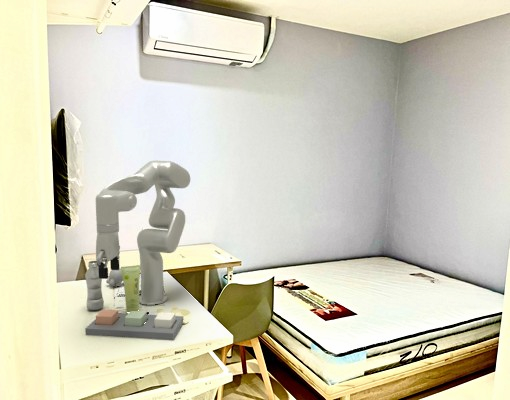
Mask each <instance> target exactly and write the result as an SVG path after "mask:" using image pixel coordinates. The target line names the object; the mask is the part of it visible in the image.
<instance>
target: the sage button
mask: <svg viewBox="0 0 510 400" xmlns="http://www.w3.org/2000/svg"><path fill="white" fill-rule="evenodd" d="M147 313H148V312H147V311H144V310H143V311H141V310H139V311H130V313H129V314H128V315H127V316H126V317H125V326H133V327H142V326H143V325H144V323H145V322H146V321H147V315H148V314H147Z"/></svg>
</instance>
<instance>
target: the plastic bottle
mask: <svg viewBox="0 0 510 400" xmlns="http://www.w3.org/2000/svg"><path fill="white" fill-rule="evenodd" d="M87 263H88V264H87V265H88V266H87V267H88V268H87V269H86V272H85V274H84V278H85V283H86V287H87V294H86V295H87V297H86V298H87V299H86V308H87V309H88V310H89V311H99V310H102V308H103V307H104V304H105V303H104V302H105V301H104V297H103V291H102V283H103V282H102V280H103V279H100V278H99V268H98V265H97V261H96V260H90V261H88V262H87Z"/></svg>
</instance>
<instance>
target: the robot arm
mask: <svg viewBox="0 0 510 400" xmlns="http://www.w3.org/2000/svg"><path fill="white" fill-rule="evenodd" d="M190 175H191V174H190V173H189V171H188V170H187V169H185V168H184V167H183V166H181V165H180V164H178V163H177V162H173V161H171V160H151V161H148V162H147V163H146V164H144V165H143V166H142V167H141V168H139V170H137V171H136V172H134V173H133V174H132V175H129V176H125V177H123V178H120V179H118V180H115V181H113V182H110V183H109V184H108V185H107V186H104V188H103V189H102V190H101V191H100V192H99V194H97V195H96V196H95V216H96V217H95V218H96V219H95V221H96V233H97V234H96V240H95V241H96V242H95V261H97V265H98V268H99V278H100V279H102V280H104V279H105V280H107V279H108V278H109V267H108V263H109V262H110V271H112V270H119V268H120V253H121V252H120V249H121V246H120V239H119V232H120V225H119V224H120V222H119V221H120V220H119V213H123V212H124V213H125V212H130V211H132V210H134V209H135V208H136V206H137V204H138V198H137V196H136V195H140V194H143V193H144V194H145V193H146V192H148V191H149V190H151V188H153V187H155V192H156V199H155V201H154V204H153V205H152V209H151V211H150V214H149V217H148V224H149V226H150V227H151V228H145V229H142V230H140V231H139V232H138V234H137V236H136V242H137V248H138V252H139V265H141V268H140V294H139V304H140V303H141V304H140V305H142V304H147V305H146V306H156V305H155V304H158V305H162V304H164V303H165V302H166V301H167V300H168V295H167V294H166V293H164V292H165V291H164V259H163V257H162V254H161V253H163V254H172V253H174V252H176V250H177V249H178V246H179V243H180V240H181V238H182V235H183V232H184V229H185V226H186V225H185V224H186V214H185V212H184V210H182V209H180V208H175V204H176V198H175V195H174V194H173V192H172V191H171V189H186V188H187V187H189V185H190V183H191V176H190Z"/></svg>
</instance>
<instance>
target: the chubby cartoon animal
mask: <svg viewBox="0 0 510 400" xmlns="http://www.w3.org/2000/svg"><path fill="white" fill-rule="evenodd" d="M122 282H123V275H122V270H121V267H119V270H110V271H109V273H108V279H106V284H108V285H109V286H113V287H114V286H115V287H117V286H120V287H121V283H122ZM117 288H118V287H117Z"/></svg>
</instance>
